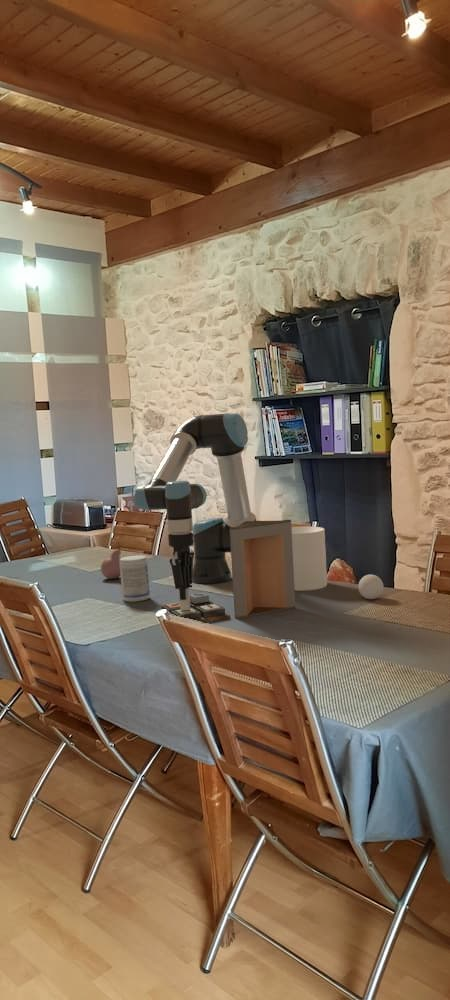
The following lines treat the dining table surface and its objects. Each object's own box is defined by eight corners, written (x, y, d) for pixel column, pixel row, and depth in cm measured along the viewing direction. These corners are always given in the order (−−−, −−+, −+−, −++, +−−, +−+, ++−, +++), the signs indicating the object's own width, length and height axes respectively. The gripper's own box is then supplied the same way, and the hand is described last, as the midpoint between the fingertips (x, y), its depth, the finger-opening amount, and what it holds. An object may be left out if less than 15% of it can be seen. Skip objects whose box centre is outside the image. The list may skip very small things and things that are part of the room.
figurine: (133, 577, 303) (130, 547, 301) (108, 582, 296) (106, 551, 295) (121, 574, 310) (119, 545, 308) (97, 579, 303) (95, 549, 302)
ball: (388, 597, 245) (387, 573, 244) (375, 603, 239) (374, 578, 238) (367, 595, 250) (366, 571, 249) (353, 600, 244) (352, 575, 243)
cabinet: (237, 619, 229) (232, 527, 226) (222, 612, 238) (217, 524, 235) (295, 607, 239) (291, 520, 236) (279, 602, 247) (275, 517, 244)
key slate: (203, 598, 245) (202, 591, 244) (209, 601, 240) (208, 594, 240) (188, 600, 243) (188, 594, 242) (194, 603, 238) (194, 596, 238)
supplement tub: (154, 599, 262) (151, 557, 261) (130, 604, 257) (126, 561, 256) (141, 594, 270) (139, 554, 269) (117, 599, 265) (114, 558, 264)
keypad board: (206, 606, 248) (206, 597, 248) (230, 618, 231) (229, 608, 230) (157, 614, 241) (156, 604, 241) (178, 627, 224) (177, 617, 224)
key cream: (214, 610, 237) (214, 603, 236) (220, 613, 232) (220, 606, 232) (199, 612, 235) (199, 605, 234) (205, 616, 230) (205, 609, 230)
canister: (276, 589, 266) (273, 533, 264) (289, 580, 280) (287, 526, 278) (320, 591, 260) (317, 533, 257) (331, 581, 274) (329, 526, 272)
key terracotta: (180, 608, 242) (180, 601, 241) (186, 611, 237) (185, 604, 237) (165, 610, 240) (165, 603, 239) (171, 614, 235) (170, 607, 235)
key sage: (190, 614, 233) (190, 607, 233) (196, 617, 229) (196, 610, 229) (175, 616, 231) (175, 609, 231) (181, 620, 227) (180, 613, 227)
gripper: (178, 529, 235) (183, 603, 237) (159, 536, 223) (164, 614, 225) (200, 529, 232) (205, 604, 234) (182, 536, 220) (188, 615, 222)
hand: (185, 609), depth 230 cm, fingers closed
